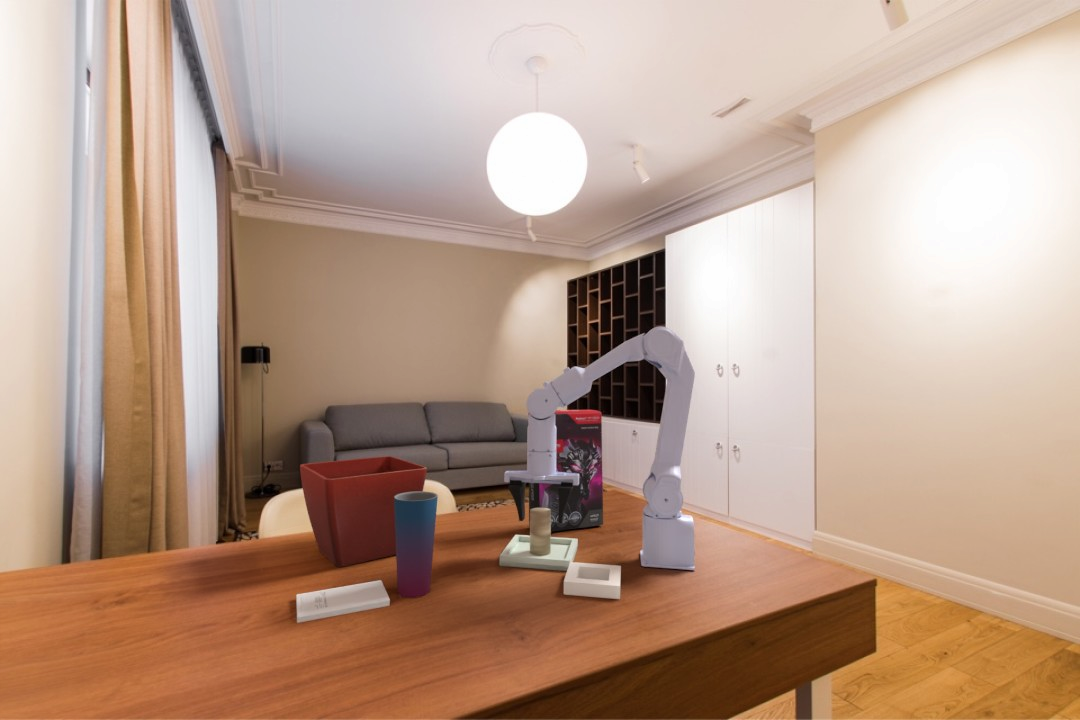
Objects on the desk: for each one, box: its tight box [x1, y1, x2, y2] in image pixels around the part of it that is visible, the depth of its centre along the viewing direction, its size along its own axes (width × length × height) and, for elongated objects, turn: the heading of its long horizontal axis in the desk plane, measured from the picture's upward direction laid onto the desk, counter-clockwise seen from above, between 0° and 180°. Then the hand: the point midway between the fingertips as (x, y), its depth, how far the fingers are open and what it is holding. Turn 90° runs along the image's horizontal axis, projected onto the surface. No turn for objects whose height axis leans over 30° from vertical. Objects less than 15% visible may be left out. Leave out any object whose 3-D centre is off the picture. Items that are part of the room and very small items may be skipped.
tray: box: [498, 534, 579, 572], centre depth 95 cm, size 13×13×2 cm
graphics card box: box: [527, 409, 604, 533], centre depth 116 cm, size 17×7×27 cm, turn 115°
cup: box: [394, 490, 439, 599], centre depth 79 cm, size 7×7×15 cm
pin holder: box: [563, 561, 622, 600], centre depth 81 cm, size 9×9×2 cm
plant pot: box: [299, 455, 428, 568], centre depth 97 cm, size 19×19×17 cm
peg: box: [529, 508, 552, 556], centre depth 95 cm, size 4×4×8 cm
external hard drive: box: [295, 579, 391, 624], centre depth 74 cm, size 2×8×12 cm
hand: (541, 520), depth 95 cm, fingers open, 7 cm apart
